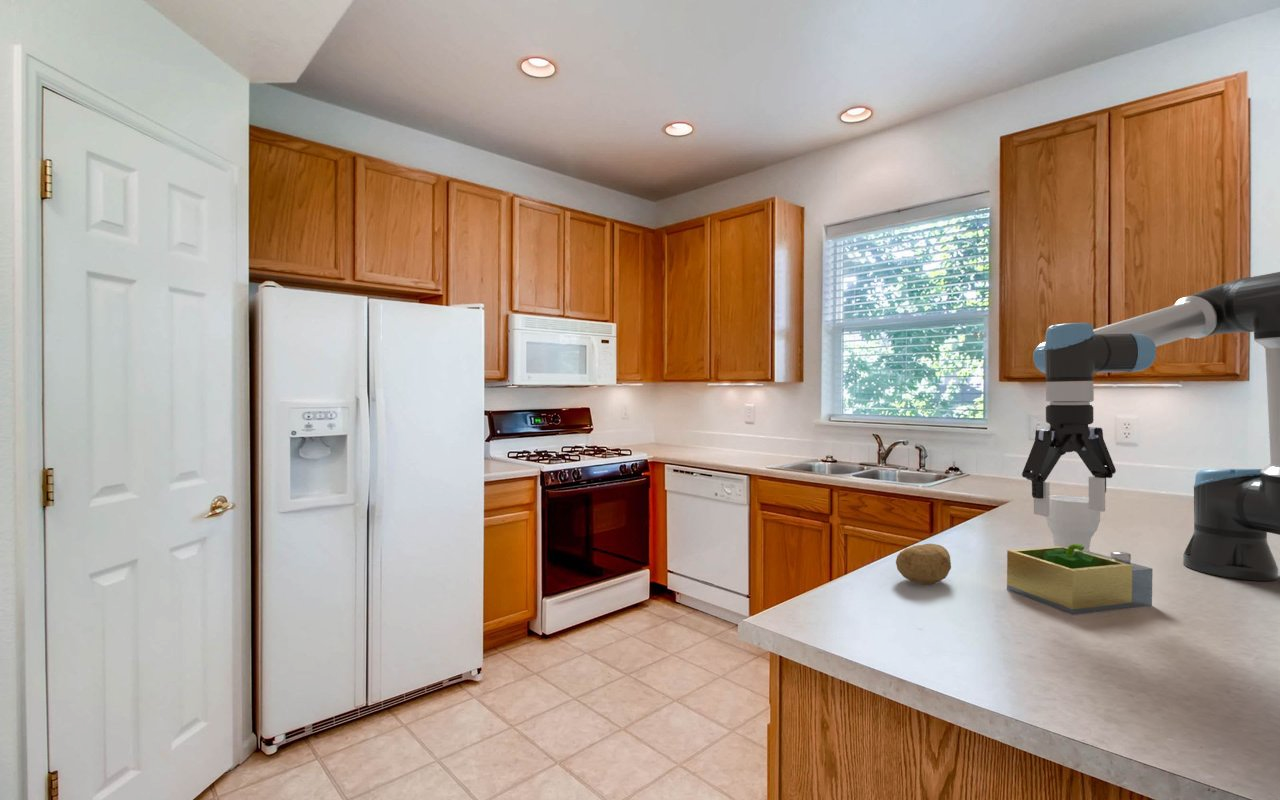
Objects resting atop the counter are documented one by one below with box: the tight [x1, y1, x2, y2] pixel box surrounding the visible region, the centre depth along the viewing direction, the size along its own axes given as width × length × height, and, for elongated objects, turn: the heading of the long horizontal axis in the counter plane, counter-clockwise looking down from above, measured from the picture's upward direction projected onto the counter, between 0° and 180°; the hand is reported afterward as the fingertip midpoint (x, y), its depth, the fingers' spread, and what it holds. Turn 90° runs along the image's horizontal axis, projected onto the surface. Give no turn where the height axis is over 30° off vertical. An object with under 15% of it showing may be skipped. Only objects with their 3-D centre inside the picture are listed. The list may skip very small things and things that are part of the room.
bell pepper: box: [1043, 544, 1097, 569], centre depth 116 cm, size 8×8×10 cm
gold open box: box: [1006, 546, 1153, 615], centre depth 116 cm, size 19×14×9 cm
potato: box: [895, 543, 952, 586], centre depth 125 cm, size 10×14×8 cm
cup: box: [1044, 494, 1101, 552], centre depth 140 cm, size 11×11×15 cm
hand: (1069, 512), depth 115 cm, fingers open, 13 cm apart
